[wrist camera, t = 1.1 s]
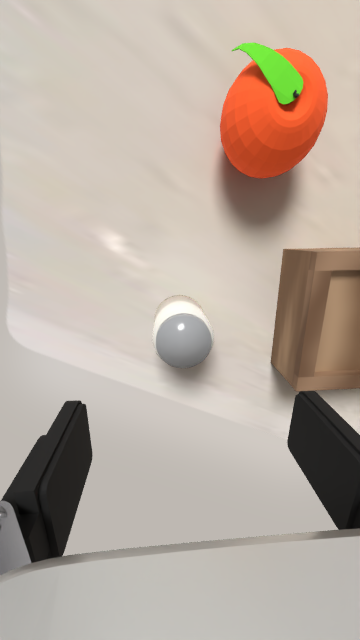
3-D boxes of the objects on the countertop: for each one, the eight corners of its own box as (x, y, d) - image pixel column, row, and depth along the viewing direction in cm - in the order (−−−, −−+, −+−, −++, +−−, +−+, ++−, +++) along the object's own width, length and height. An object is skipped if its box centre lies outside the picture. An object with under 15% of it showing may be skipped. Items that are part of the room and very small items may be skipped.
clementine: (185, 128, 20) (196, 72, 13) (249, 52, 19) (297, -52, 12) (248, 204, 22) (286, 189, 15) (310, 140, 21) (380, 94, 14)
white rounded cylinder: (204, 294, 24) (217, 311, 19) (202, 341, 26) (214, 370, 20) (153, 295, 24) (150, 312, 18) (155, 342, 26) (152, 372, 20)
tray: (399, 247, 25) (468, 249, 19) (372, 356, 28) (423, 385, 23) (281, 248, 24) (317, 251, 18) (269, 361, 28) (296, 391, 22)
